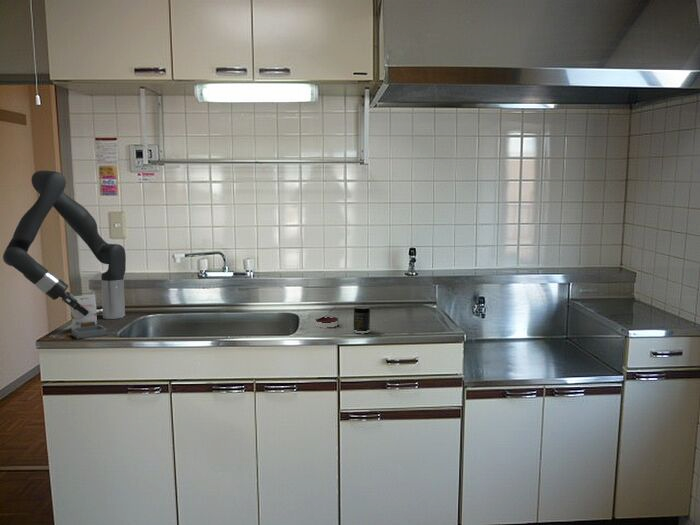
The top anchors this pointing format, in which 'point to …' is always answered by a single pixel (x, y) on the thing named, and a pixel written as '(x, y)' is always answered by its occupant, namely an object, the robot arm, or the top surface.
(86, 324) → the clip stand
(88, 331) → the tray
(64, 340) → the top surface
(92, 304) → the ink box
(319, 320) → the canned food
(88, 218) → the robot arm
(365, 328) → the supplement container
